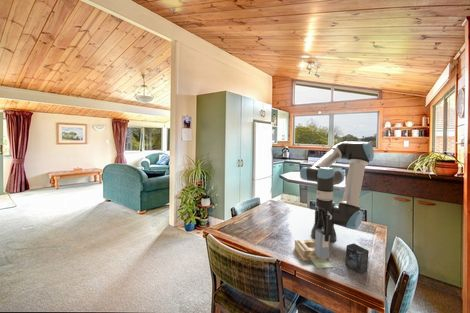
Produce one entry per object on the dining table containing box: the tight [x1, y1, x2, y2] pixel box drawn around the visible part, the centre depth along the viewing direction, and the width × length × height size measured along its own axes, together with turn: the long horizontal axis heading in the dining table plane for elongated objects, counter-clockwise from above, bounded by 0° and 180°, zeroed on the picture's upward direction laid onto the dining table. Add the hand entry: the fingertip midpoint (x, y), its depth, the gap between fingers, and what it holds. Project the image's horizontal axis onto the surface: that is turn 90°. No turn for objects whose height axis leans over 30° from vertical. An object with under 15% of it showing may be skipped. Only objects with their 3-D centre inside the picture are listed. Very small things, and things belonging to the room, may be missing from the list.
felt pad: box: [310, 259, 334, 269], centre depth 110 cm, size 8×8×1 cm
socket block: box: [294, 239, 330, 261], centre depth 119 cm, size 14×12×5 cm
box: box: [345, 242, 369, 274], centre depth 106 cm, size 8×6×11 cm
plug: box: [314, 229, 330, 259], centre depth 109 cm, size 5×5×13 cm
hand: (322, 244), depth 110 cm, fingers closed on plug, 5 cm apart
